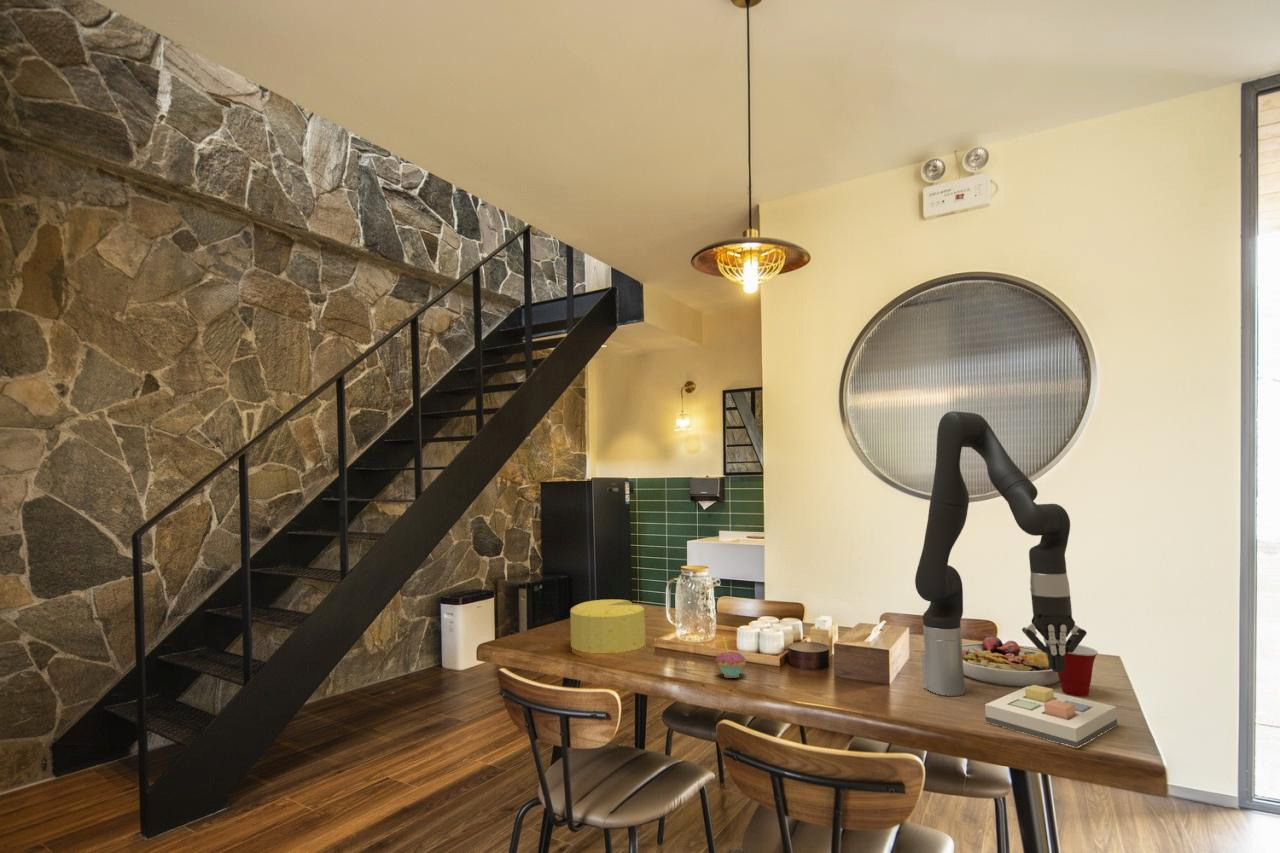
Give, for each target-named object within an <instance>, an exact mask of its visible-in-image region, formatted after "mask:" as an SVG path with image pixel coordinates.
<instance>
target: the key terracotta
mask: <svg viewBox="0 0 1280 853" xmlns="http://www.w3.org/2000/svg"><path fill="white" fill-rule="evenodd" d="M1044 707H1045V714H1046V715H1050V716H1054V717H1058V718H1061V719H1065V720H1068V719H1070V718H1072V717H1074V716H1076V715H1075V705H1074V704H1070V703H1066V702H1062V701H1058V700H1054V699H1053V700H1051V701H1049V702H1047V703H1044Z"/></svg>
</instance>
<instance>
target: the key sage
mask: <svg viewBox="0 0 1280 853" xmlns="http://www.w3.org/2000/svg"><path fill="white" fill-rule="evenodd" d="M1010 705H1012V706H1015V707H1019V708H1023V709H1027V710H1031V711H1032V710H1034V709H1037V708H1039V705H1038V704H1034V703H1030V702H1026V701H1022V700H1018V701H1016V702H1014V703H1011V704H1010Z"/></svg>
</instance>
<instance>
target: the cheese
mask: <svg viewBox="0 0 1280 853" xmlns="http://www.w3.org/2000/svg"><path fill="white" fill-rule="evenodd" d="M569 612H570V613H569V614H570V617H569V618H570V648H571V647H572V648H574V649H576V650H579V651H582V652H589V653H618V652H626V651H631V650H636V649H639V648H641V647H643V646H644V645H645V646H646V620H645V618H646V617H645V616H646V615H645V614H646V613H645V612H646V609H645V607H644V606H642V605H640V604H633V602H632V601H631V600H626V599H610V598H609V599H598V600H596V599H595V600H589V601H584V602H581V603H579V604H575V605H574V606H572V607H571V608H570V610H569Z"/></svg>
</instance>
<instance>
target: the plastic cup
mask: <svg viewBox="0 0 1280 853" xmlns="http://www.w3.org/2000/svg"><path fill="white" fill-rule="evenodd" d="M1098 654H1099V651H1098V650H1096V649H1094V648H1092V647H1088V646H1086V645H1081V644H1079V645H1078V646H1077V647H1076V649H1075V650H1074V651H1073V652H1072V653H1070V652H1069V653H1066V654H1065V655H1064V658H1065V670H1063V672H1057V673H1058V677H1059V679H1060V680H1059V683H1060V687H1061V690H1062V693H1063V694H1064V695H1068V696H1073V697H1080V698H1081V697H1088V696H1089V693H1090V689H1091V683H1092V678H1093V676H1092V675H1093V667H1094V663H1095V659H1096V656H1097V655H1098Z"/></svg>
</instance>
